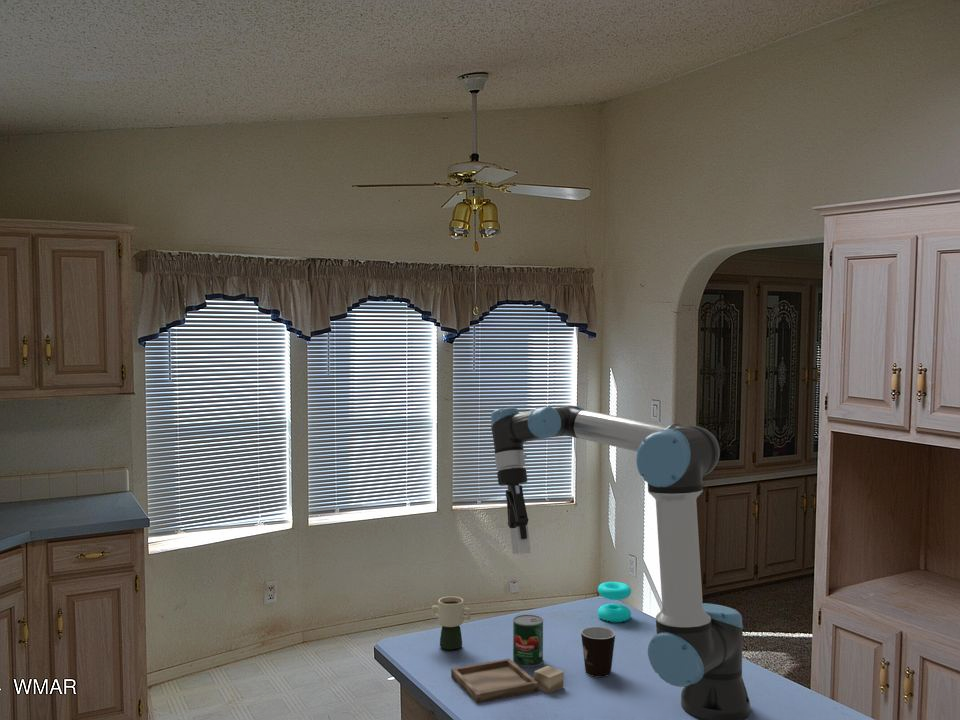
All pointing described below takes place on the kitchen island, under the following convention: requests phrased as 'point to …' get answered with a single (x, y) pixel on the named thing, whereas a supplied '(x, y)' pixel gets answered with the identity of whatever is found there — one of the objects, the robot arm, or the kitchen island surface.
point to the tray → (494, 680)
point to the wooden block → (549, 679)
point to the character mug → (451, 620)
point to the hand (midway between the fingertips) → (521, 553)
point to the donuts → (613, 610)
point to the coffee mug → (598, 650)
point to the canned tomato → (528, 640)
